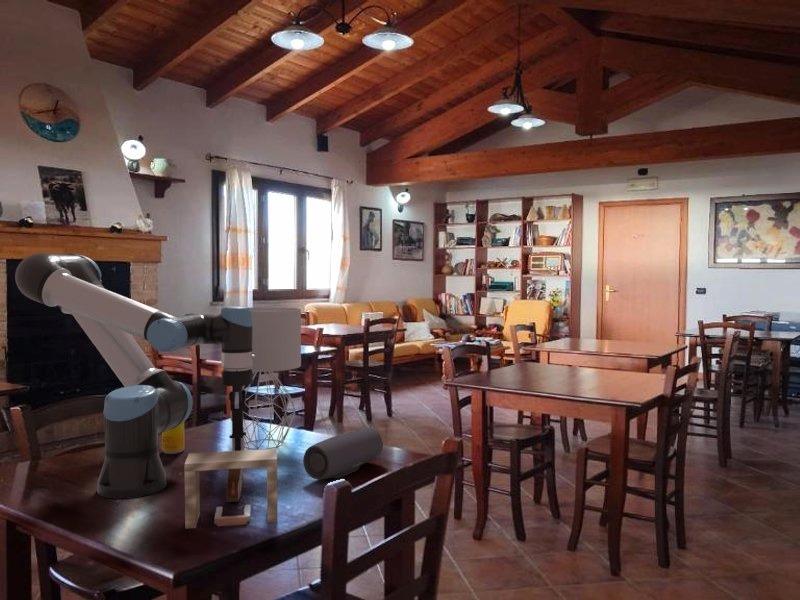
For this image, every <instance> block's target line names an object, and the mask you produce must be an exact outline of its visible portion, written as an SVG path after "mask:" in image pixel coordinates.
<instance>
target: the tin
mask: <svg viewBox="0 0 800 600" xmlns="http://www.w3.org/2000/svg"><path fill="white" fill-rule="evenodd" d="M243 469H244V468H239V469H227V470H228V472H227V481H226V500H225V501H226V503H238V502H239V501H240V497H241V494H242V489H243V481H244V475H243Z"/></svg>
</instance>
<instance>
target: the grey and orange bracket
mask: <svg viewBox="0 0 800 600" xmlns="http://www.w3.org/2000/svg"><path fill="white" fill-rule="evenodd" d="M251 507H252V506H251V504H244V510H243V514H238V515H225V516H223V509H224V507H223V506H216V509H215V514H214V522H213V523H214V525H216V526H217V527H228V526H241V525H243V526H244V525H247V524H248V523H250V522H251V511H252V509H251Z"/></svg>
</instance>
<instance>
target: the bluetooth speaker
mask: <svg viewBox="0 0 800 600" xmlns="http://www.w3.org/2000/svg"><path fill="white" fill-rule="evenodd" d="M383 443H384V442H383V440H382V437H381V434H380V432H379V431H378V430H377V429H375V428H373V427H370V426H369V427H362V428H357V429H354V430H350V431H346V432H343V433H341V434H337V435H334V436H331V437H329V438H326V439H324V440H321V441H319V442H317V443H314V444H312V445H311V446H308V448H307V449H306V450H305V452H304V454H303V459H302V463H303V468H304V470H305V473H306V474H307V475H308V476H309V477H310V478H312V479H314V480H318V481H319V480H326V479H329V478H331V479H340V478H343V477H346V476H348V475H350V474H352V473H351V472H353V471H355V472H357V471H359V470H360V469H359V468H360V467H361V466H363V465H365V464H367V463H369V462H370V461H372V460H374V459H375V458H377V457H378V456H379V455H380V454H382V452H383V447H384V444H383ZM358 469H359V470H358ZM356 470H357V471H356ZM349 473H350V474H349ZM353 473H354V472H353ZM347 474H348V475H347ZM345 475H346V476H345ZM342 476H343V477H342ZM339 477H340V478H339Z"/></svg>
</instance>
